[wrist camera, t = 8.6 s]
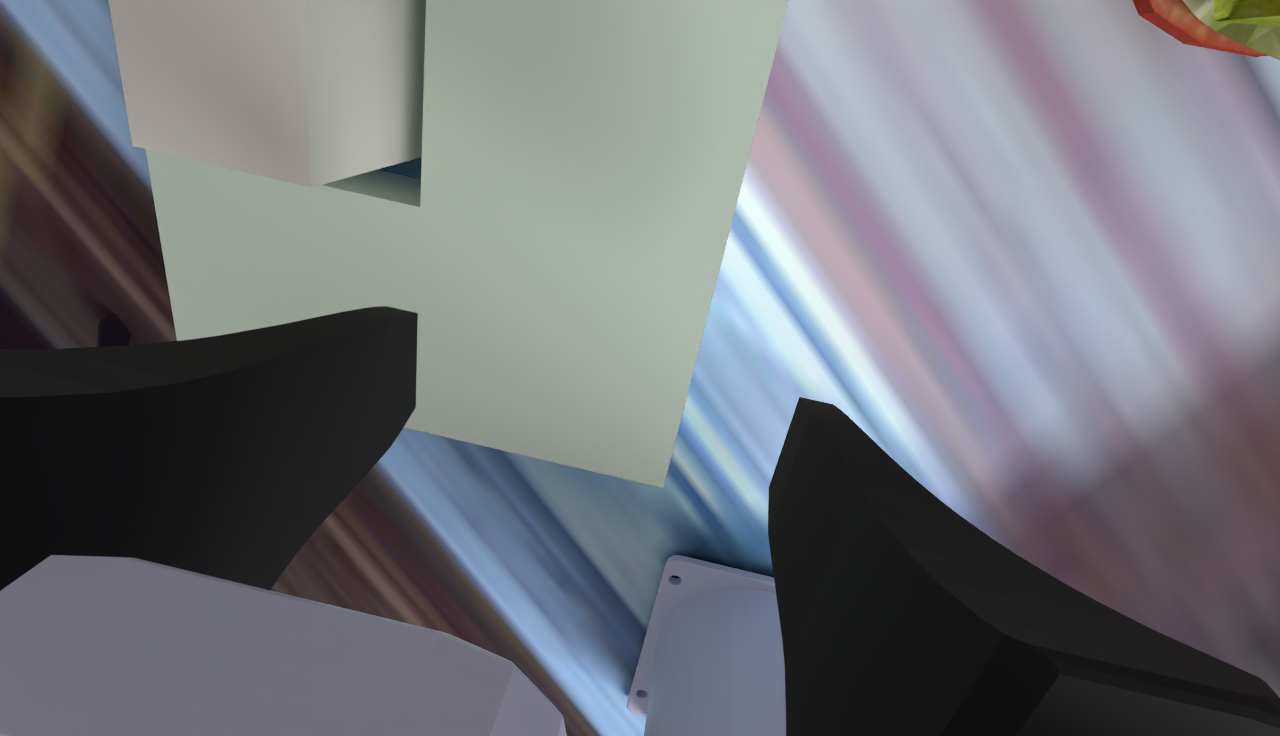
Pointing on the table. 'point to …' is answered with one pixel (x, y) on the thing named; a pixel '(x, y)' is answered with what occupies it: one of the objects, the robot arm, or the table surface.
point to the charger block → (275, 83)
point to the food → (1219, 23)
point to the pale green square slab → (515, 223)
